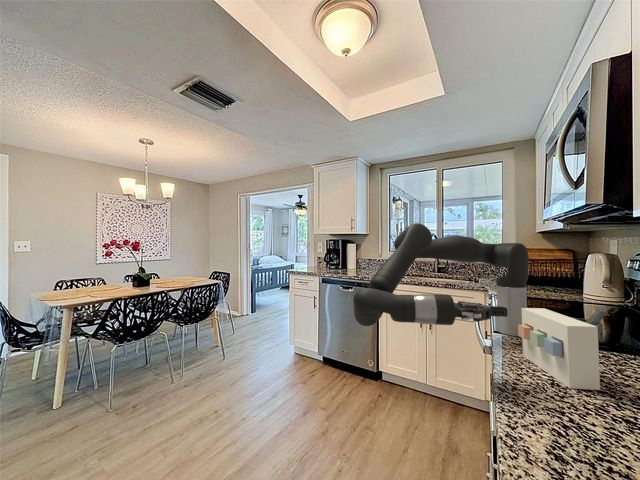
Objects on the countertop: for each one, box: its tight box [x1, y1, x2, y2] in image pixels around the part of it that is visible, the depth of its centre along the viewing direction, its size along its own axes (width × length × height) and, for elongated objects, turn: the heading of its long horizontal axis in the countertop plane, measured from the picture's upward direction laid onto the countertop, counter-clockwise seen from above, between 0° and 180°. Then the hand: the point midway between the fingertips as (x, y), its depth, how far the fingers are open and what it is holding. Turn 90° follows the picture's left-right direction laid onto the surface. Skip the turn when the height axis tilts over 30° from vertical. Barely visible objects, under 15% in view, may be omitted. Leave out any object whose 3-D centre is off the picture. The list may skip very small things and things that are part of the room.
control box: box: [522, 307, 601, 391], centre depth 72 cm, size 6×19×14 cm, turn 171°
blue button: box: [544, 338, 563, 356], centre depth 67 cm, size 2×3×3 cm, turn 170°
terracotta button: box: [517, 325, 532, 340], centre depth 79 cm, size 2×3×3 cm, turn 171°
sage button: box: [530, 331, 546, 347], centre depth 73 cm, size 2×3×3 cm, turn 171°
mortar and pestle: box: [573, 307, 609, 338], centre depth 92 cm, size 11×9×12 cm
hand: (505, 311), depth 69 cm, fingers closed
